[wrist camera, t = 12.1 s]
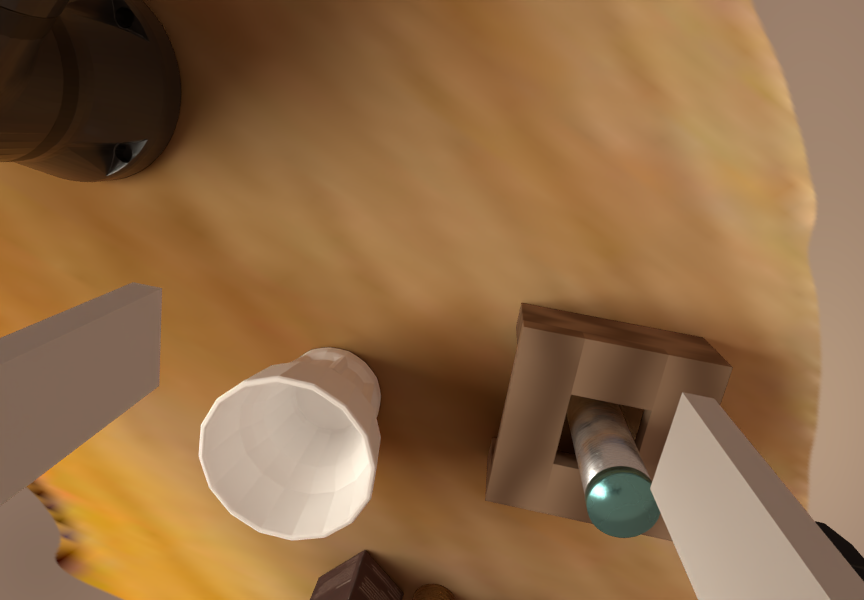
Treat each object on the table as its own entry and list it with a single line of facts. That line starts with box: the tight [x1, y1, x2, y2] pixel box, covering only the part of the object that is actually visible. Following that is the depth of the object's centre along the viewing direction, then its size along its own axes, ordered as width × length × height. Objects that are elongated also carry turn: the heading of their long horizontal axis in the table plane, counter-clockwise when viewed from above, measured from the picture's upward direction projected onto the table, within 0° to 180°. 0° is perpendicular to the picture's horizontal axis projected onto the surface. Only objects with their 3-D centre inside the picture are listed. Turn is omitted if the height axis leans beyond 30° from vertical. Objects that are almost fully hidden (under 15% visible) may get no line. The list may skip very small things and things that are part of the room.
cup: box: [199, 347, 381, 540], centre depth 44 cm, size 12×12×11 cm
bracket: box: [485, 303, 733, 541], centre depth 43 cm, size 14×14×6 cm
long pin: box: [566, 395, 660, 538], centre depth 39 cm, size 4×4×14 cm
